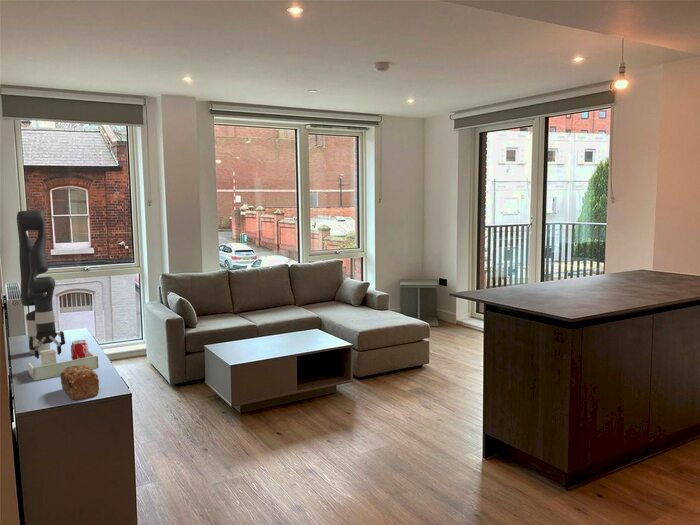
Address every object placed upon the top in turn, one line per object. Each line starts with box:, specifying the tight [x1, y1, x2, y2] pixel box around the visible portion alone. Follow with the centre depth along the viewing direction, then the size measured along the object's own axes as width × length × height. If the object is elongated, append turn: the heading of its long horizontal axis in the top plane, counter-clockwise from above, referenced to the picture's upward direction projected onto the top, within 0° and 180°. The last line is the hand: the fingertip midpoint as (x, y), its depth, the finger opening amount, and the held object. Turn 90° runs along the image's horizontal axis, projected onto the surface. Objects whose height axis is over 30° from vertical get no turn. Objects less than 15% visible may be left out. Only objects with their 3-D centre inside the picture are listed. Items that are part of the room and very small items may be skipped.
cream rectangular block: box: [40, 348, 57, 366], centre depth 251 cm, size 6×5×8 cm
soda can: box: [70, 339, 89, 360], centre depth 250 cm, size 7×7×12 cm
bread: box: [59, 365, 100, 401], centre depth 218 cm, size 19×11×10 cm, turn 38°
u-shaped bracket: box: [27, 350, 100, 382], centre depth 246 cm, size 13×26×6 cm, turn 129°
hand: (48, 356), depth 251 cm, fingers open, 8 cm apart
